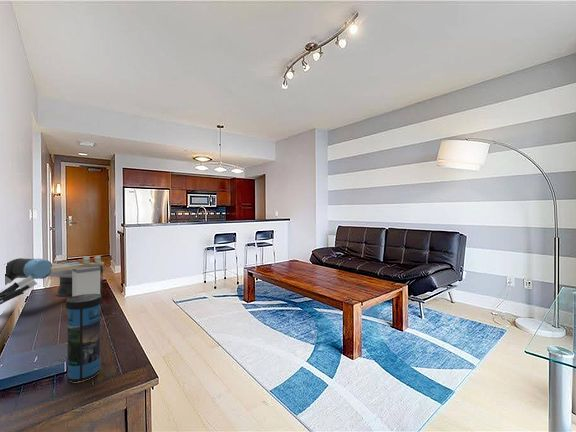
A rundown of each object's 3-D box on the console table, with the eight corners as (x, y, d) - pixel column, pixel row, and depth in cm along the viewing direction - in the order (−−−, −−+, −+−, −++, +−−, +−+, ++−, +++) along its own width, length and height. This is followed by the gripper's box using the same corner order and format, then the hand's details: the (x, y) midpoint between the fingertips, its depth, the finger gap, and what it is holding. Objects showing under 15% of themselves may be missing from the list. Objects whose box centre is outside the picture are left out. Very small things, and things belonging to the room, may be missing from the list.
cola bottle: (105, 297, 208) (106, 256, 207) (96, 300, 199) (97, 257, 199) (95, 296, 209) (95, 255, 208) (85, 300, 200) (85, 257, 200)
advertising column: (108, 369, 114) (108, 294, 114) (84, 386, 103) (84, 303, 103) (84, 366, 116) (84, 292, 116) (57, 382, 105) (57, 301, 104)
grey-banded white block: (72, 312, 177) (72, 267, 176) (94, 307, 186) (94, 264, 185) (76, 317, 169) (77, 269, 168) (100, 312, 178) (100, 267, 177)
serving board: (50, 270, 165) (50, 260, 165) (102, 264, 185) (102, 255, 185) (51, 271, 163) (51, 261, 163) (104, 265, 182) (104, 256, 182)
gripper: (-11, 306, 155) (35, 281, 168) (-8, 318, 138) (42, 289, 151) (-21, 295, 152) (26, 270, 165) (-20, 307, 135) (32, 278, 148)
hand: (33, 279), depth 158 cm, fingers open, 13 cm apart
